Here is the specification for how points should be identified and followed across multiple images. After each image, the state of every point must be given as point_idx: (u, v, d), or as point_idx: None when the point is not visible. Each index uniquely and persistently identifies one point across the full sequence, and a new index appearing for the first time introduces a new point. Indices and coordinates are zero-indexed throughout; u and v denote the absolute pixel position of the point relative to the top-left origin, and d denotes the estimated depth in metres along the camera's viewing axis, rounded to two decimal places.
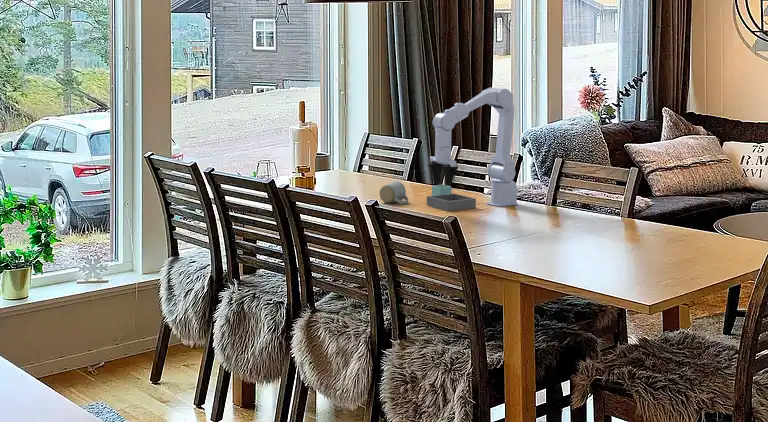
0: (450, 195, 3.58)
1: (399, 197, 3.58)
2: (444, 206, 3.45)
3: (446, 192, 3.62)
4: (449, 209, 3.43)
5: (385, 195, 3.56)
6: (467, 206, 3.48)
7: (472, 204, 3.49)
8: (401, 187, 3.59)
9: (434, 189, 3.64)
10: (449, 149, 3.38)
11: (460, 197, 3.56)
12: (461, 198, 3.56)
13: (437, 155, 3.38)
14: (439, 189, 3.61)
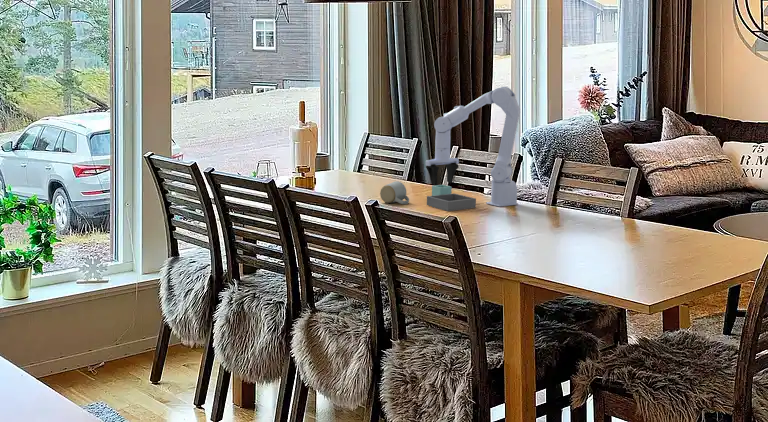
0: (450, 195, 3.58)
1: (400, 197, 3.58)
2: (444, 206, 3.45)
3: (446, 192, 3.62)
4: (449, 209, 3.43)
5: (386, 195, 3.56)
6: (467, 206, 3.48)
7: (472, 204, 3.49)
8: (402, 187, 3.58)
9: (434, 189, 3.64)
10: (438, 150, 3.59)
11: (460, 197, 3.56)
12: (461, 198, 3.56)
13: None
14: (439, 189, 3.61)
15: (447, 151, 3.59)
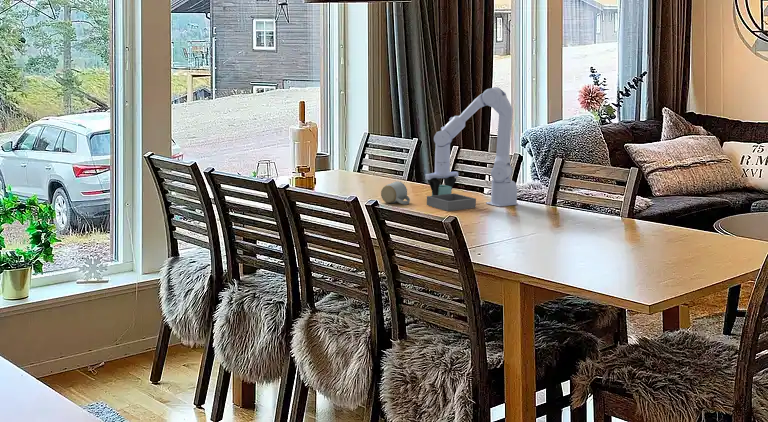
0: (450, 195, 3.58)
1: (400, 197, 3.57)
2: (444, 206, 3.45)
3: (446, 192, 3.62)
4: (449, 209, 3.43)
5: (387, 195, 3.56)
6: (467, 206, 3.48)
7: (472, 204, 3.49)
8: (402, 187, 3.58)
9: None
10: (438, 164, 3.60)
11: (460, 197, 3.56)
12: (461, 198, 3.56)
13: None
14: (439, 189, 3.61)
15: (447, 165, 3.60)
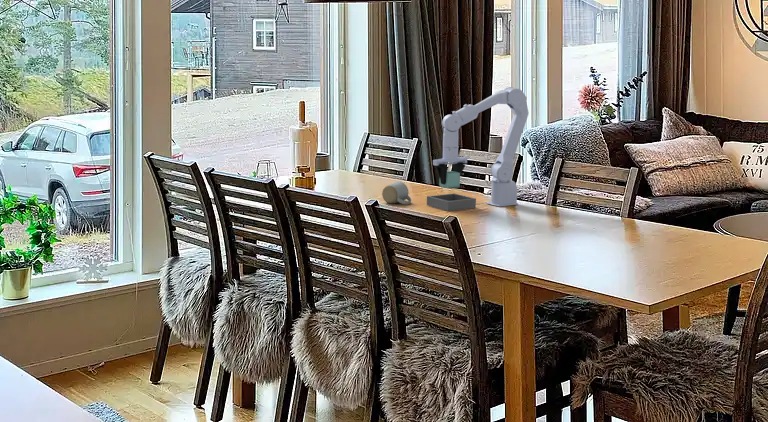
0: (450, 195, 3.58)
1: (402, 197, 3.57)
2: (444, 206, 3.45)
3: (454, 178, 3.51)
4: (449, 209, 3.43)
5: (388, 195, 3.56)
6: (467, 206, 3.48)
7: (472, 204, 3.49)
8: (404, 187, 3.58)
9: None
10: (446, 149, 3.48)
11: (460, 197, 3.56)
12: (461, 198, 3.56)
13: None
14: (447, 175, 3.49)
15: (455, 150, 3.49)
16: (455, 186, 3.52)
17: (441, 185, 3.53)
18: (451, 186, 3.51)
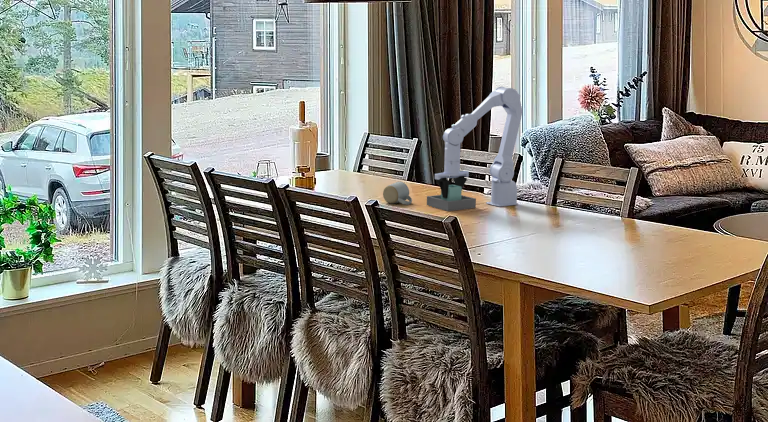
0: None
1: (402, 197, 3.57)
2: (444, 206, 3.45)
3: (456, 192, 3.49)
4: (449, 209, 3.43)
5: (389, 195, 3.56)
6: (467, 206, 3.48)
7: (472, 204, 3.49)
8: (404, 187, 3.58)
9: None
10: (448, 163, 3.47)
11: None
12: (461, 198, 3.56)
13: None
14: (449, 189, 3.48)
15: (457, 164, 3.47)
16: None
17: (443, 199, 3.51)
18: (453, 200, 3.49)
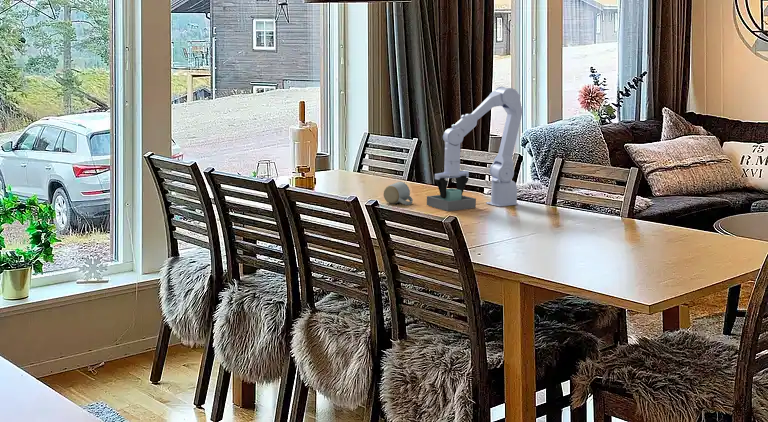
0: None
1: (403, 198, 3.57)
2: (444, 206, 3.45)
3: (456, 196, 3.49)
4: (449, 209, 3.43)
5: (389, 195, 3.55)
6: (467, 206, 3.48)
7: (472, 204, 3.49)
8: (405, 187, 3.57)
9: None
10: (448, 163, 3.47)
11: None
12: (461, 198, 3.56)
13: None
14: (449, 193, 3.48)
15: (457, 164, 3.47)
16: None
17: None
18: None
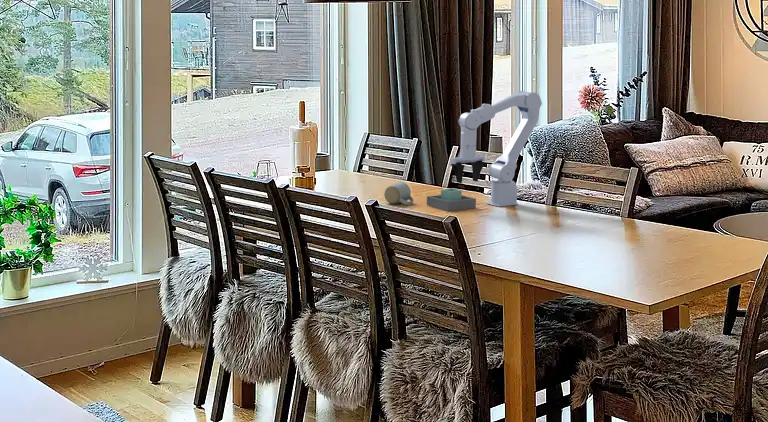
0: None
1: (404, 198, 3.56)
2: (444, 206, 3.45)
3: (456, 196, 3.49)
4: (449, 209, 3.43)
5: (390, 196, 3.55)
6: (467, 206, 3.48)
7: (472, 204, 3.49)
8: (406, 187, 3.57)
9: (443, 193, 3.50)
10: (464, 148, 3.46)
11: None
12: (461, 198, 3.56)
13: None
14: (449, 193, 3.48)
15: (473, 148, 3.46)
16: None
17: None
18: None
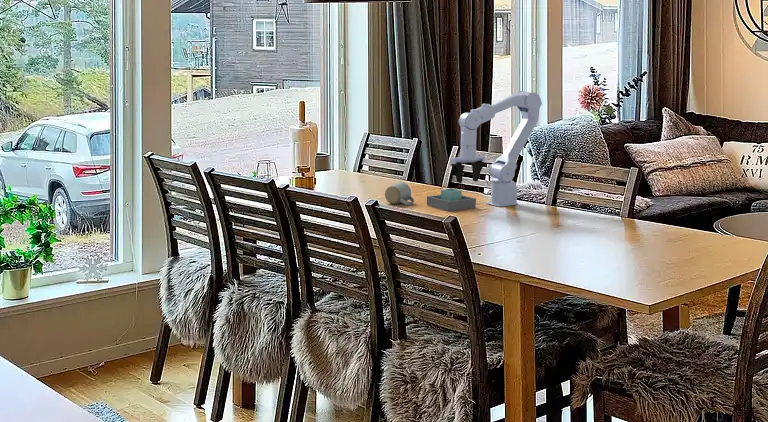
0: None
1: (405, 198, 3.56)
2: (444, 206, 3.45)
3: (456, 196, 3.49)
4: (449, 209, 3.43)
5: (391, 196, 3.55)
6: (467, 206, 3.48)
7: (472, 204, 3.49)
8: (406, 188, 3.57)
9: (443, 193, 3.50)
10: (464, 148, 3.46)
11: None
12: (461, 198, 3.56)
13: None
14: (449, 193, 3.48)
15: (473, 148, 3.46)
16: None
17: None
18: None
